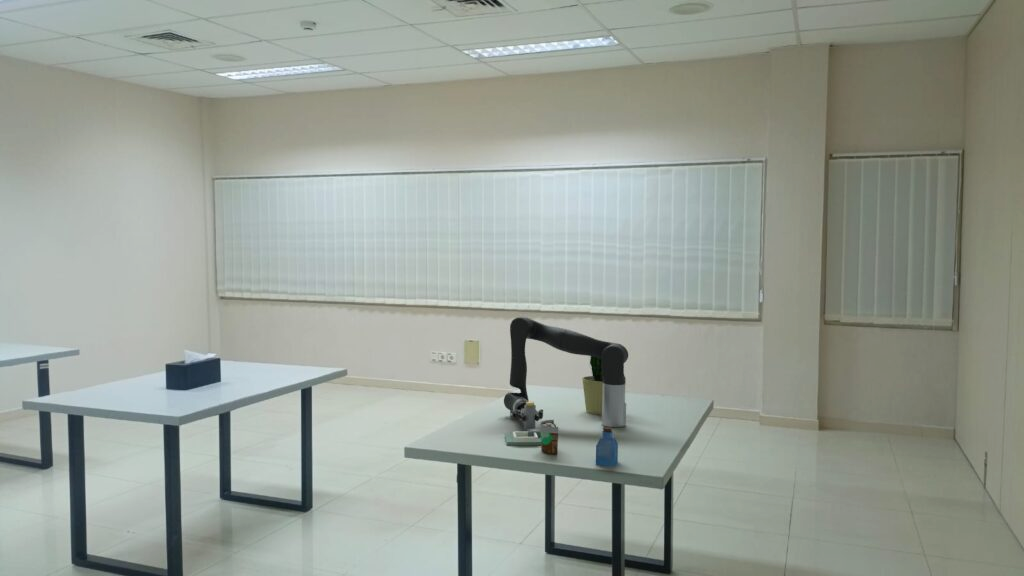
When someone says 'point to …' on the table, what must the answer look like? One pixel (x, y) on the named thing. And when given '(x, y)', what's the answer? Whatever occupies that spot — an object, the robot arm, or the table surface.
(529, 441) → the board
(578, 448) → the table surface
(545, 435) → the food container
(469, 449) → the table surface
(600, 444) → the perfume bottle
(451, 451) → the table surface
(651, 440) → the table surface
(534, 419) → the plug
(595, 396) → the potted cactus
